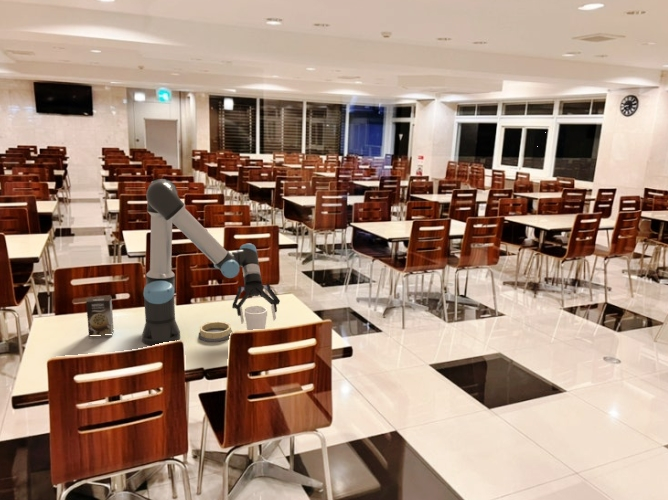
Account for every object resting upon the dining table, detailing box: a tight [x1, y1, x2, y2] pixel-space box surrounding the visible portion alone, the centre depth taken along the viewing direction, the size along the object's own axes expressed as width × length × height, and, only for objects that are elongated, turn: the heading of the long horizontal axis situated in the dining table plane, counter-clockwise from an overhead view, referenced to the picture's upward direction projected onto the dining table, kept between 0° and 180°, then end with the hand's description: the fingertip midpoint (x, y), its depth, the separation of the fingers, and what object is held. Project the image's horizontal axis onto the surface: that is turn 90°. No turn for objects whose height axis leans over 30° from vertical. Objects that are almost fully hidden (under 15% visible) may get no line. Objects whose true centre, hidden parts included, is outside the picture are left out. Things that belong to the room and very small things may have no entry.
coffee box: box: [85, 295, 115, 339], centre depth 216 cm, size 9×6×16 cm
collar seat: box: [198, 321, 233, 343], centre depth 220 cm, size 14×14×4 cm
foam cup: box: [244, 305, 268, 330], centre depth 217 cm, size 10×9×13 cm
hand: (258, 320), depth 218 cm, fingers open, 13 cm apart
